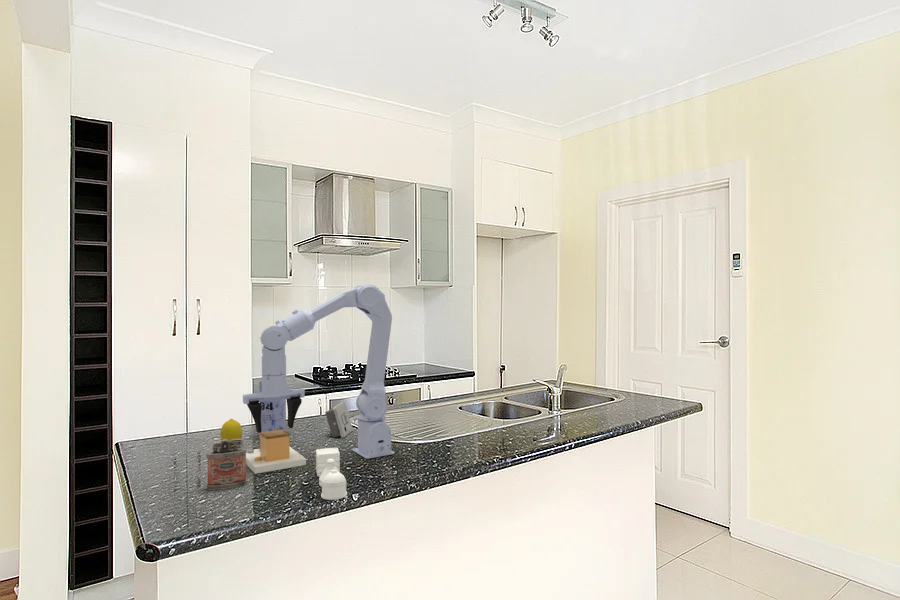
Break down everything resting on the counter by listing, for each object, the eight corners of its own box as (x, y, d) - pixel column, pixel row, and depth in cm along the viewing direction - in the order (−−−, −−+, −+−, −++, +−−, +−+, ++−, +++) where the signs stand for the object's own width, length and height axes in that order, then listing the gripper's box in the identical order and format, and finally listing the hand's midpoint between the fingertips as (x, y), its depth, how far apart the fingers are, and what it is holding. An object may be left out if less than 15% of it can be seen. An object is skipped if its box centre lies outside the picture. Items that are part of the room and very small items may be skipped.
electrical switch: (344, 438, 157) (341, 406, 157) (327, 440, 157) (323, 408, 158) (353, 431, 166) (350, 401, 166) (336, 432, 167) (333, 402, 167)
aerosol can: (253, 438, 158) (252, 370, 158) (269, 432, 166) (269, 366, 166) (276, 440, 156) (275, 370, 156) (292, 433, 163) (291, 367, 163)
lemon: (216, 449, 146) (215, 420, 146) (230, 444, 151) (230, 416, 151) (232, 451, 144) (232, 421, 144) (246, 446, 149) (246, 417, 150)
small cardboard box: (289, 458, 132) (289, 433, 132) (266, 462, 129) (266, 437, 129) (283, 452, 137) (282, 429, 137) (260, 456, 134) (260, 432, 134)
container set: (315, 472, 127) (315, 448, 127) (338, 469, 128) (337, 446, 128) (322, 502, 108) (321, 474, 108) (348, 499, 109) (348, 471, 109)
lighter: (206, 491, 114) (206, 443, 114) (206, 486, 117) (206, 440, 117) (247, 485, 117) (246, 439, 117) (246, 480, 120) (246, 435, 120)
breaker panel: (306, 464, 132) (305, 446, 132) (255, 473, 125) (254, 454, 125) (287, 450, 145) (286, 433, 145) (240, 457, 139) (240, 439, 139)
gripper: (298, 370, 140) (299, 422, 140) (239, 375, 132) (240, 430, 132) (307, 373, 134) (307, 427, 134) (246, 378, 127) (247, 436, 127)
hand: (274, 429), depth 133 cm, fingers open, 7 cm apart
